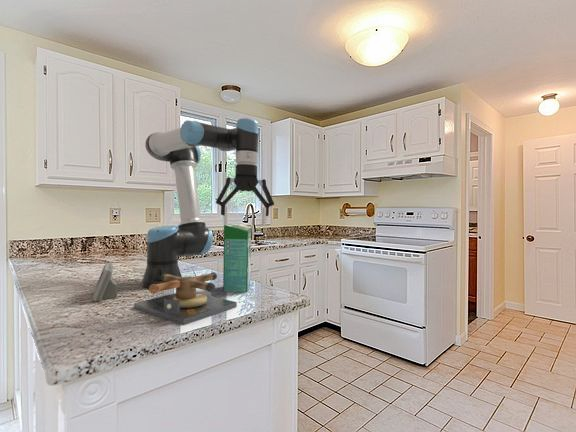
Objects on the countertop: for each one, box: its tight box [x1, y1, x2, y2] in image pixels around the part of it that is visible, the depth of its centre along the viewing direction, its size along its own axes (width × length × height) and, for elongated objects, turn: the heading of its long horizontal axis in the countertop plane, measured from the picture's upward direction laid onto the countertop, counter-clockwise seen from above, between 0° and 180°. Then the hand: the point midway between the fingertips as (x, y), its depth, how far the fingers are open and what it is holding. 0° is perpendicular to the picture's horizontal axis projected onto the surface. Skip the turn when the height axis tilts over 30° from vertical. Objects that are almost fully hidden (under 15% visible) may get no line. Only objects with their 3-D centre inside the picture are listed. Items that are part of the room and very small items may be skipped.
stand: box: [133, 292, 238, 326], centre depth 100 cm, size 24×21×6 cm
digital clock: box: [92, 262, 118, 302], centre depth 112 cm, size 16×9×11 cm, turn 17°
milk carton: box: [222, 223, 252, 293], centre depth 125 cm, size 9×9×25 cm
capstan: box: [148, 271, 218, 308], centre depth 101 cm, size 25×25×7 cm
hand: (244, 225), depth 114 cm, fingers open, 13 cm apart
